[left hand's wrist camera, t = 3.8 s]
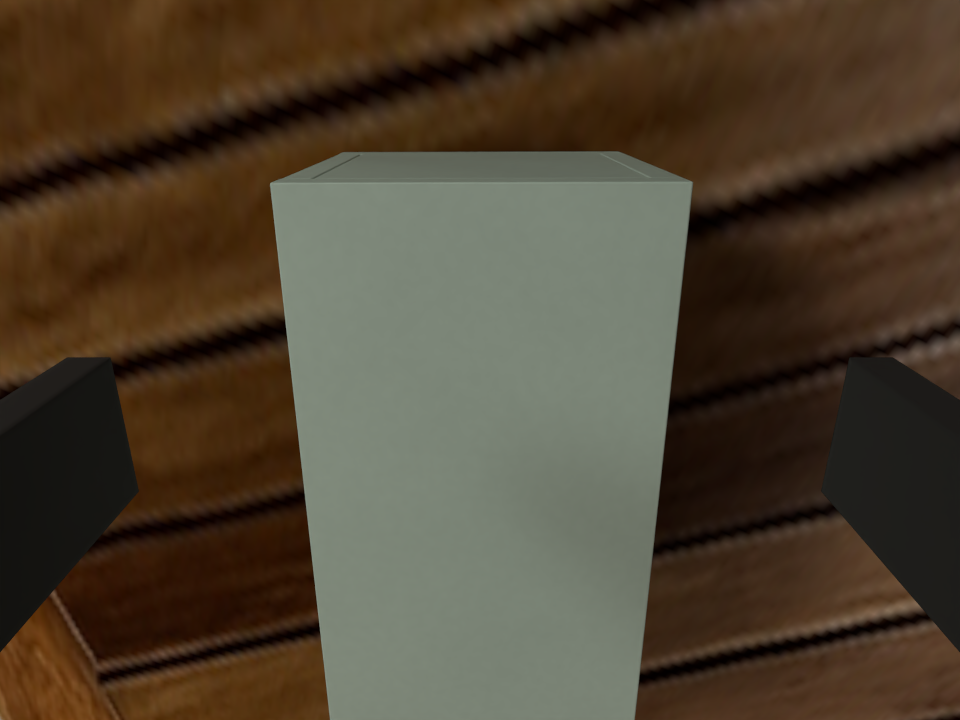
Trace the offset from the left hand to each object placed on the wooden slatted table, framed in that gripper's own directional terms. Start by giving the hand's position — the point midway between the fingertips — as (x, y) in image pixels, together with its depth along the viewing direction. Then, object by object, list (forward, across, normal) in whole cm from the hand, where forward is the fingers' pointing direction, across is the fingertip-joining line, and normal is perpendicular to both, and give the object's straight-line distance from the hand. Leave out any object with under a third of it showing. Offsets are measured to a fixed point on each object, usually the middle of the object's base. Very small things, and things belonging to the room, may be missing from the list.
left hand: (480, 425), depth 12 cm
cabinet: (+18, 0, -7) cm, 19 cm away
